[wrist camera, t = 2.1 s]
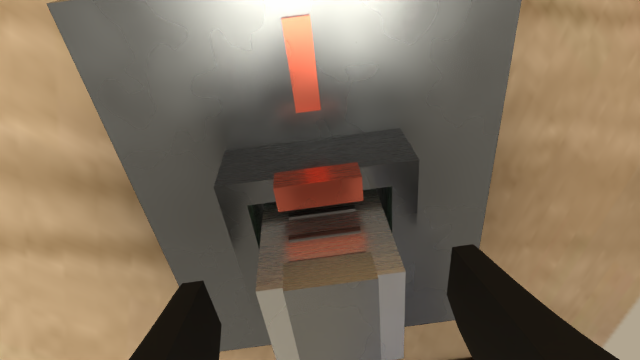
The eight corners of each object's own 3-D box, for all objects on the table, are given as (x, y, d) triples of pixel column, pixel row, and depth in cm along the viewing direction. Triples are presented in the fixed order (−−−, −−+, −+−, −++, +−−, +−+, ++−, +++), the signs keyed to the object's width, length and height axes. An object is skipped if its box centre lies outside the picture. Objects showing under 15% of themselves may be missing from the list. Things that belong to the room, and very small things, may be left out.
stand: (460, 305, 19) (495, 377, 16) (213, 338, 19) (197, 417, 16) (515, -61, 10) (617, -64, 7) (61, -1, 10) (-39, 23, 7)
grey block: (373, 255, 15) (414, 400, 10) (283, 267, 15) (281, 418, 10) (369, 145, 12) (421, 272, 8) (258, 160, 12) (239, 297, 8)
